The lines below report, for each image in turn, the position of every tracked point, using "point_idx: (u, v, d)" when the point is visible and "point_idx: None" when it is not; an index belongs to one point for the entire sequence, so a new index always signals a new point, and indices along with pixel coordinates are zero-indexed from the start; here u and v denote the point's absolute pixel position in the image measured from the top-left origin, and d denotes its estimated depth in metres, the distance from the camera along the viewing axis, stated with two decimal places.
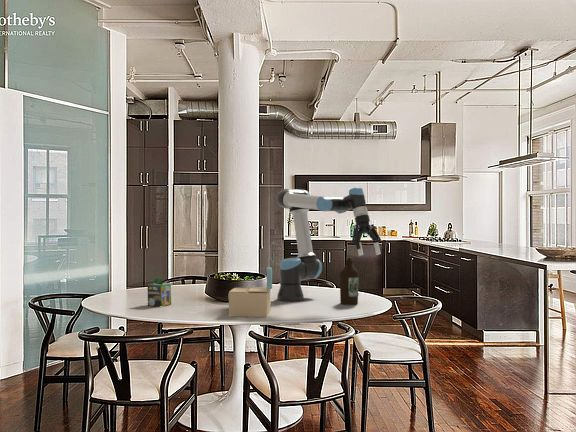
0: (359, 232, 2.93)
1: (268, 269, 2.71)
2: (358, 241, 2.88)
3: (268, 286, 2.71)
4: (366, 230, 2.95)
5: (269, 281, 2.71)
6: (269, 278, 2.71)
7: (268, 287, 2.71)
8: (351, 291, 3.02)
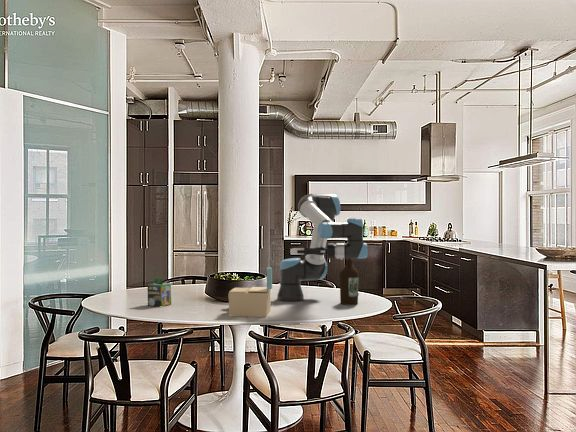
0: None
1: (268, 269, 2.71)
2: (305, 254, 2.65)
3: (268, 286, 2.71)
4: None
5: (269, 281, 2.71)
6: (269, 278, 2.71)
7: (268, 287, 2.71)
8: (351, 291, 3.02)
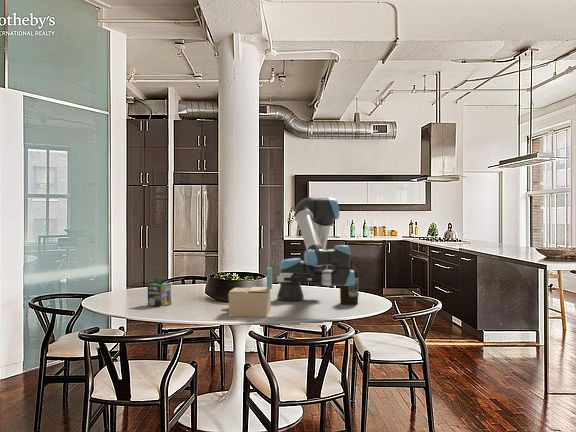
0: None
1: (268, 269, 2.71)
2: (291, 281, 2.64)
3: (268, 286, 2.71)
4: None
5: (269, 281, 2.71)
6: (269, 278, 2.71)
7: (268, 287, 2.71)
8: (351, 291, 3.02)
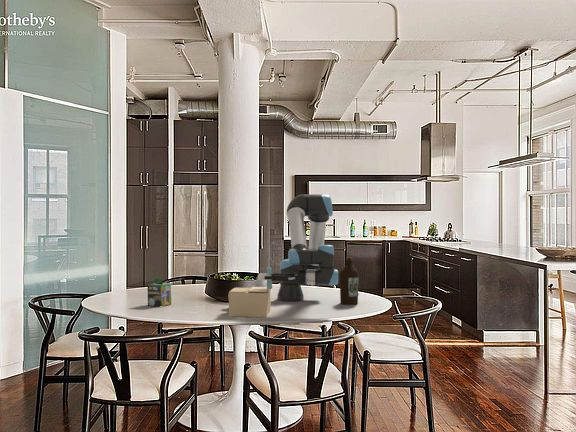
0: None
1: (268, 269, 2.71)
2: None
3: (268, 286, 2.71)
4: None
5: (269, 281, 2.71)
6: None
7: (268, 287, 2.71)
8: (351, 291, 3.02)
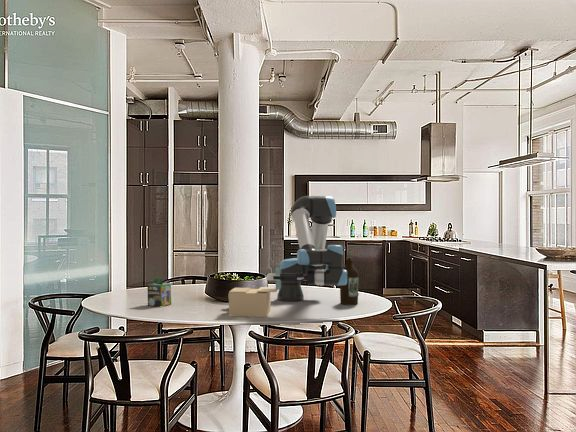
0: None
1: (277, 269, 2.71)
2: None
3: (277, 286, 2.71)
4: None
5: (278, 281, 2.71)
6: None
7: (277, 287, 2.71)
8: (351, 291, 3.02)
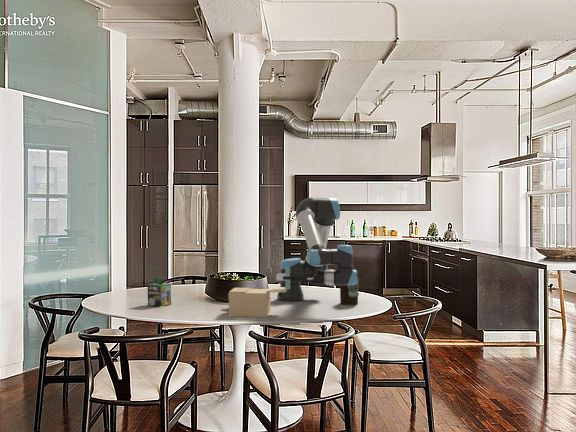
0: None
1: (286, 269, 2.71)
2: (290, 280, 2.69)
3: (286, 286, 2.71)
4: None
5: (287, 281, 2.71)
6: None
7: (286, 287, 2.71)
8: (351, 291, 3.02)
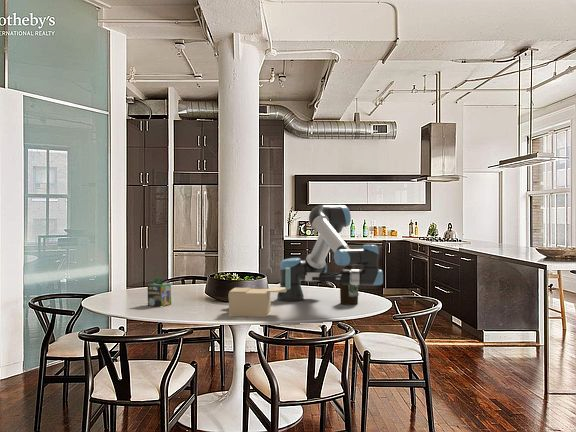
0: None
1: (287, 269, 2.71)
2: (320, 281, 2.64)
3: (287, 286, 2.71)
4: None
5: (288, 281, 2.71)
6: (288, 278, 2.71)
7: (287, 287, 2.71)
8: (351, 291, 3.02)
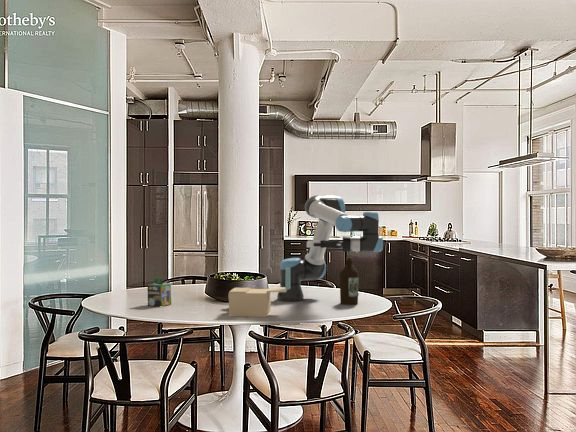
0: None
1: (287, 269, 2.71)
2: (321, 247, 2.68)
3: (287, 286, 2.71)
4: None
5: (288, 281, 2.71)
6: (288, 278, 2.71)
7: (287, 287, 2.71)
8: (351, 291, 3.02)
